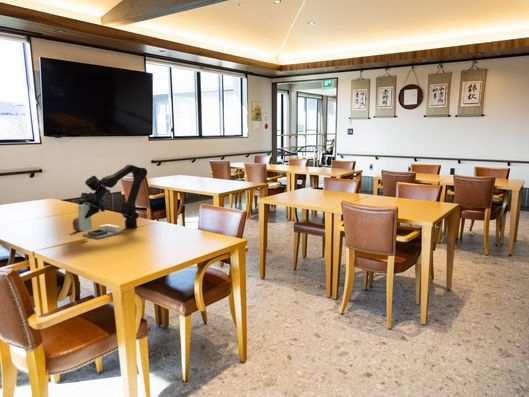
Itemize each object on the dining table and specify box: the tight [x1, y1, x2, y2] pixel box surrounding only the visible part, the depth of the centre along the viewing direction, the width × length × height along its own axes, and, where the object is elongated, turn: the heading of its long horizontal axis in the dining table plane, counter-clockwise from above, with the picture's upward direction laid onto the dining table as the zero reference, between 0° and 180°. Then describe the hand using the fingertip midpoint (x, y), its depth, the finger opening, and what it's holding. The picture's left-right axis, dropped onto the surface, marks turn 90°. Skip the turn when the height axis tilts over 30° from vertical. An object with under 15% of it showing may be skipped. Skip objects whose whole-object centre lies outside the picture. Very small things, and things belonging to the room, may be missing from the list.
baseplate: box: [82, 223, 125, 240], centre depth 235 cm, size 18×14×4 cm
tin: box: [72, 216, 84, 232], centre depth 245 cm, size 15×3×8 cm, turn 168°
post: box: [77, 204, 93, 232], centre depth 224 cm, size 4×4×14 cm
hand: (82, 217), depth 223 cm, fingers closed on post, 4 cm apart
